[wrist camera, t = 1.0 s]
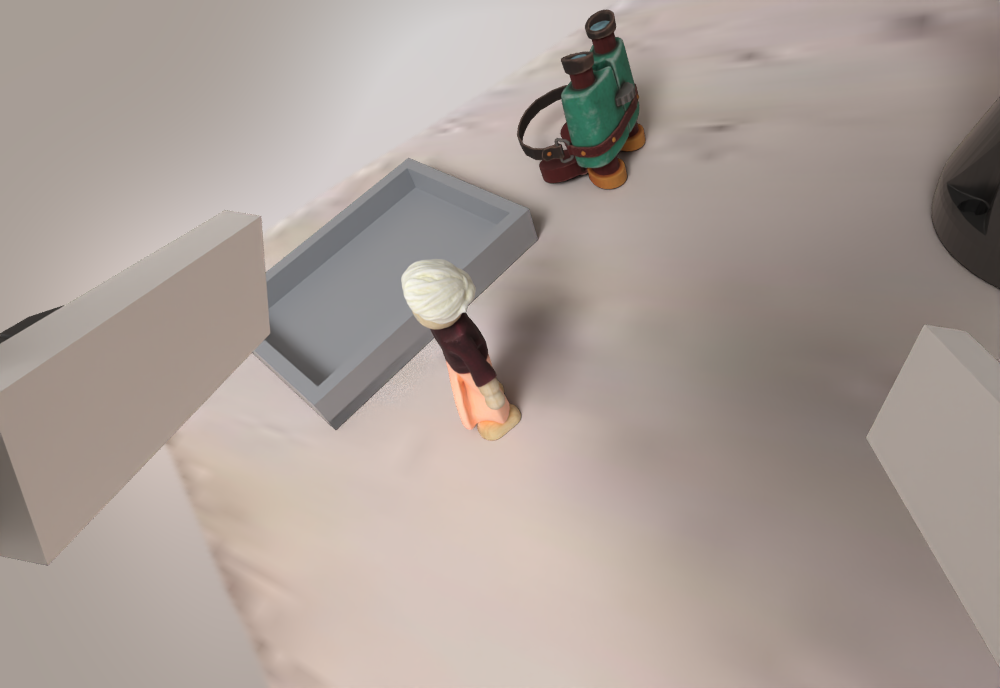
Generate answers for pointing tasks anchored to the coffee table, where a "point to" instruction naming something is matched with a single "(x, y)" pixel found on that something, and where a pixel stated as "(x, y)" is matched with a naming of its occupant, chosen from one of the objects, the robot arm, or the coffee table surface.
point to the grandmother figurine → (459, 344)
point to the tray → (379, 282)
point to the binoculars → (592, 112)
